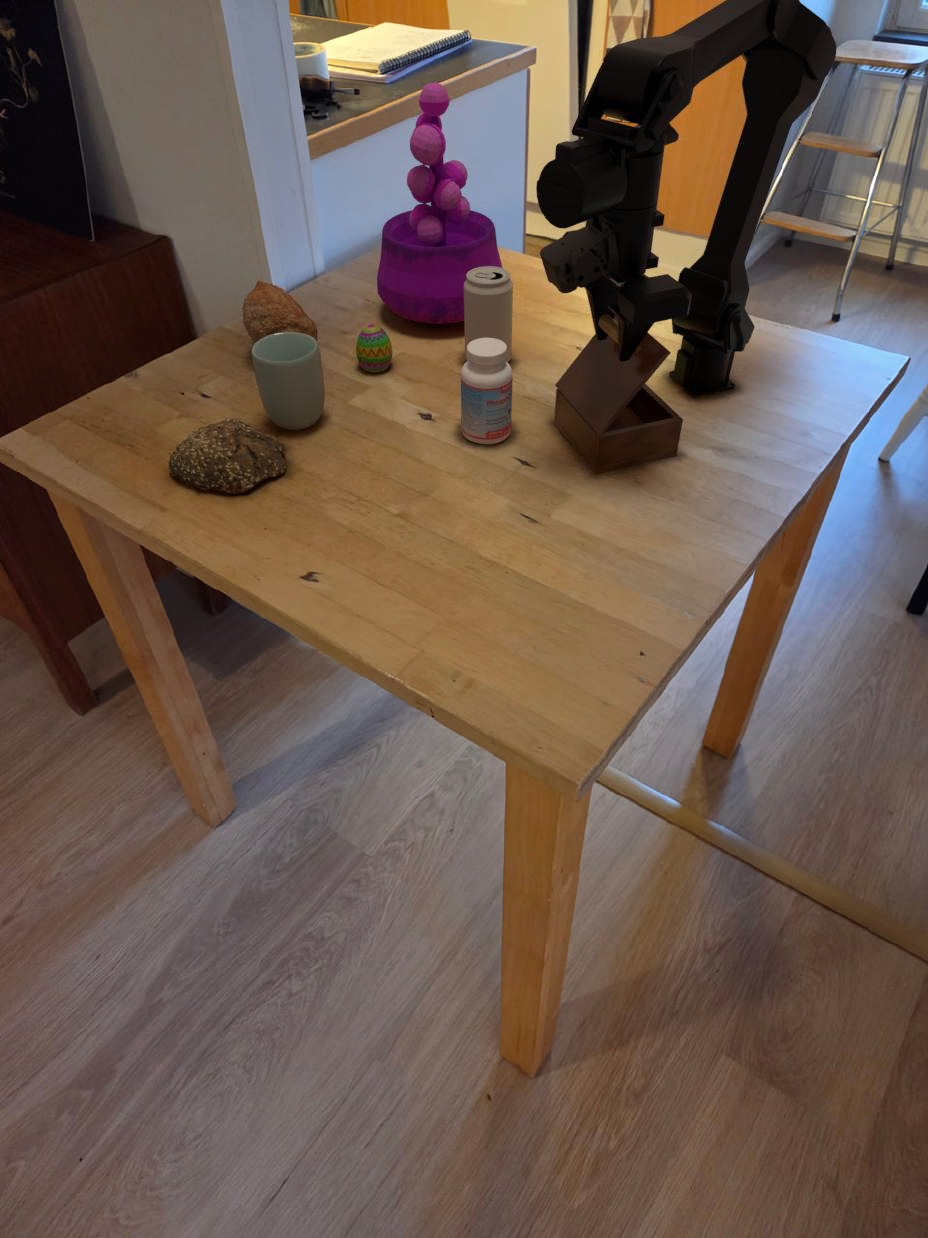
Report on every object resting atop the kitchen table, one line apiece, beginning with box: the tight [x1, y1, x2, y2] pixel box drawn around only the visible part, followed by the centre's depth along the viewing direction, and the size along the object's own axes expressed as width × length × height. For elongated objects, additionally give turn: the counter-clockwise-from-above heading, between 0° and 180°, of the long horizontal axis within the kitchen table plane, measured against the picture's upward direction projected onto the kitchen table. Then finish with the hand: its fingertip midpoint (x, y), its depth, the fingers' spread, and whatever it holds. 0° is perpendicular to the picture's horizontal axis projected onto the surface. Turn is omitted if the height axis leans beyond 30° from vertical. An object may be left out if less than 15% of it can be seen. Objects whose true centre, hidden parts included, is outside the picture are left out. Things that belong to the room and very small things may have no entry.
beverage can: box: [463, 266, 514, 363], centre depth 113 cm, size 6×6×12 cm
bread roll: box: [168, 417, 287, 495], centre depth 98 cm, size 13×12×5 cm
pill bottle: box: [460, 338, 514, 445], centre depth 100 cm, size 6×6×11 cm
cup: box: [250, 332, 326, 431], centre depth 103 cm, size 8×8×10 cm
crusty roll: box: [242, 279, 318, 344], centre depth 115 cm, size 10×13×10 cm
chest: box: [553, 383, 684, 474], centre depth 101 cm, size 11×12×5 cm
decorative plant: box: [376, 82, 503, 325], centre depth 118 cm, size 19×18×30 cm
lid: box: [554, 314, 672, 436], centre depth 94 cm, size 11×12×4 cm
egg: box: [355, 323, 393, 374], centre depth 114 cm, size 5×5×6 cm
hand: (612, 349), depth 94 cm, fingers closed on lid, 5 cm apart
